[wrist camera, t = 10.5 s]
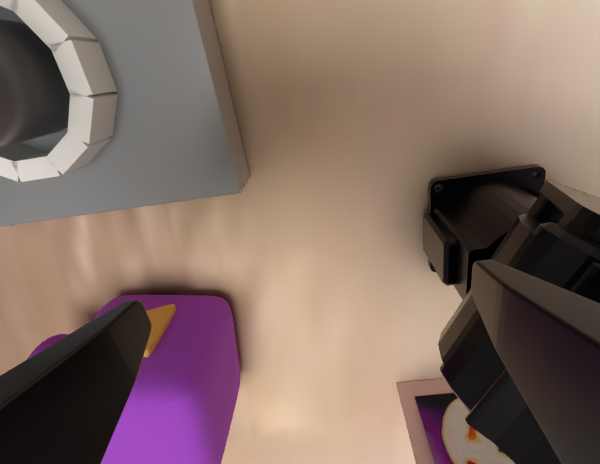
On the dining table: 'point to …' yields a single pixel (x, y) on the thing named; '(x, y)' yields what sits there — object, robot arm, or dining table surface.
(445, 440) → the purple printed box
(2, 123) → the lens
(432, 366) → the dining table surface
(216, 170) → the mount
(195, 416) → the toy camera
